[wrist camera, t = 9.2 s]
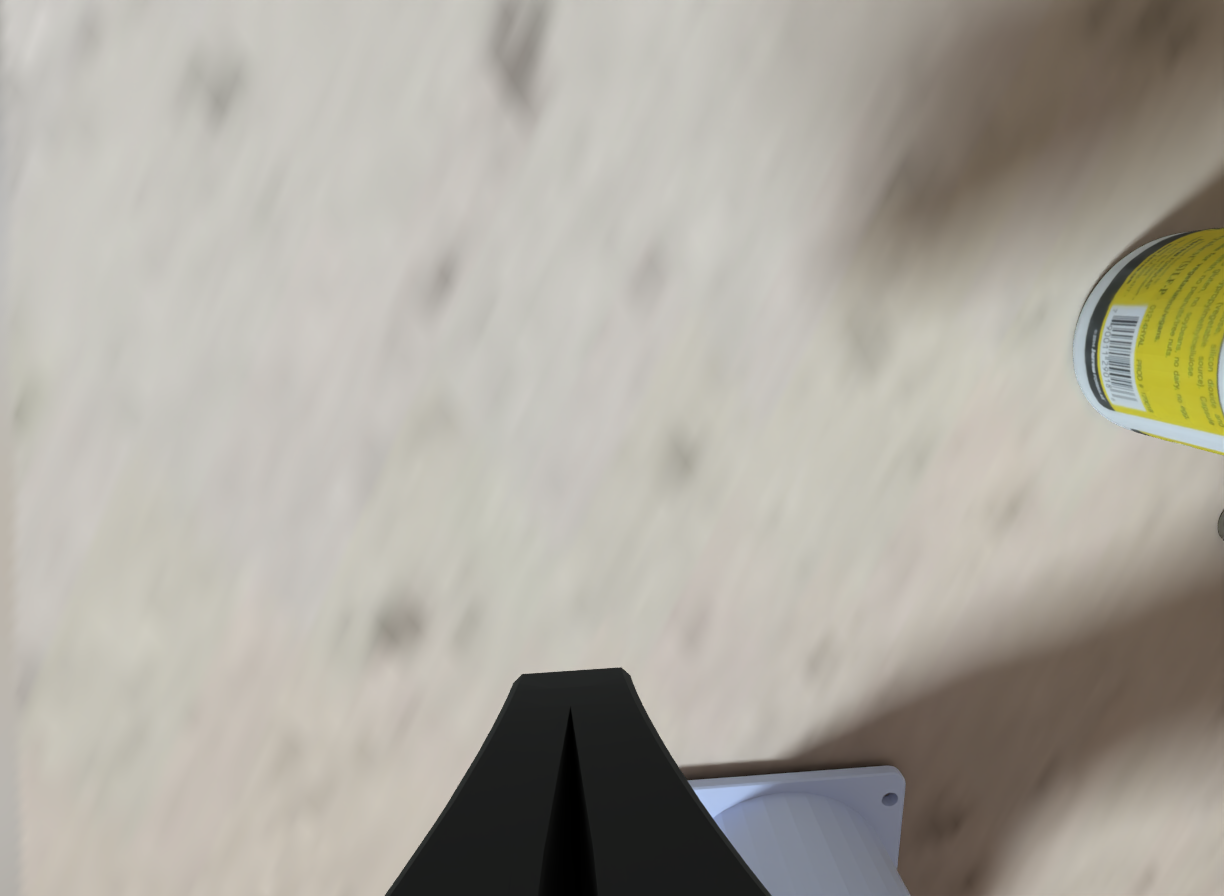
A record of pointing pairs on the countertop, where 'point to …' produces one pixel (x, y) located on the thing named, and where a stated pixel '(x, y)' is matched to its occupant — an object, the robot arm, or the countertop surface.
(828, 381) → the countertop surface
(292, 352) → the countertop surface
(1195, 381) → the supplement bottle
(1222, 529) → the pin seat
